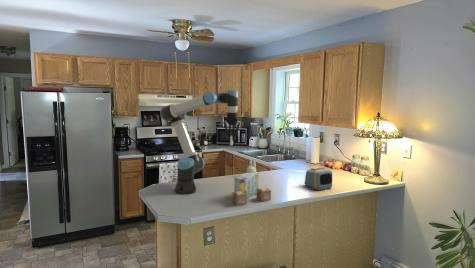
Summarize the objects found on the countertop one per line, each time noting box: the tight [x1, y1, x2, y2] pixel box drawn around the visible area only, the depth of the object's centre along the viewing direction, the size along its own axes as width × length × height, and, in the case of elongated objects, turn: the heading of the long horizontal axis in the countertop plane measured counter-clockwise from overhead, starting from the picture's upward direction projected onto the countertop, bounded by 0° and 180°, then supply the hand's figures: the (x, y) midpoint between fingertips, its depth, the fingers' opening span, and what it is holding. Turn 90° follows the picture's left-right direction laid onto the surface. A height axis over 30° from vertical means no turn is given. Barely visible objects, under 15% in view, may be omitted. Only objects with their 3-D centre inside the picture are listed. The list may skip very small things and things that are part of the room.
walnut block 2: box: [256, 187, 272, 202], centre depth 210 cm, size 7×7×7 cm
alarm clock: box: [304, 166, 333, 191], centre depth 242 cm, size 16×16×16 cm
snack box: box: [233, 172, 259, 198], centre depth 215 cm, size 21×6×15 cm, turn 141°
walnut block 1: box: [231, 191, 248, 206], centre depth 201 cm, size 7×7×7 cm
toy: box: [241, 160, 257, 176], centre depth 260 cm, size 10×17×15 cm, turn 140°
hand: (231, 144), depth 221 cm, fingers closed
